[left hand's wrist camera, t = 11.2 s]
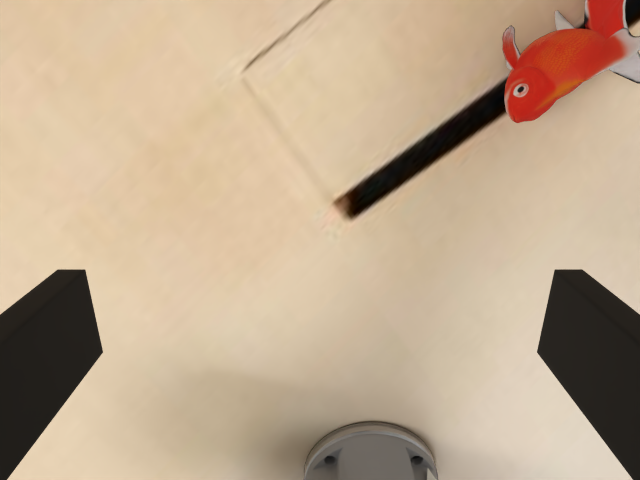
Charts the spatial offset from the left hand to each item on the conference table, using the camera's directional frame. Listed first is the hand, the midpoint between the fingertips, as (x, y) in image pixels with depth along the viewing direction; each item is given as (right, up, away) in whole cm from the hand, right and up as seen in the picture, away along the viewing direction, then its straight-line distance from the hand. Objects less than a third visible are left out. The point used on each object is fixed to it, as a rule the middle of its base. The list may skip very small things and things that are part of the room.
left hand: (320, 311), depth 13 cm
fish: (+19, +18, +22) cm, 35 cm away
